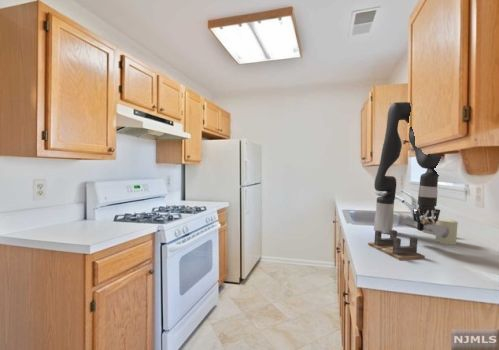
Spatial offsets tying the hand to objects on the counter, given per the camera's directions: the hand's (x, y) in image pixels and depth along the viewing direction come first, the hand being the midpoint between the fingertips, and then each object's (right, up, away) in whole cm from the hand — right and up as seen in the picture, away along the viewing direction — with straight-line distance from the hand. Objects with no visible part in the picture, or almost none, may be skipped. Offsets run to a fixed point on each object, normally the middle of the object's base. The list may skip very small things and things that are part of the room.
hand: (424, 230), depth 128 cm
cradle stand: (-18, -9, -6) cm, 21 cm away
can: (+19, -9, +12) cm, 25 cm away
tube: (0, -1, 0) cm, 1 cm away
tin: (+24, -8, +28) cm, 38 cm away
